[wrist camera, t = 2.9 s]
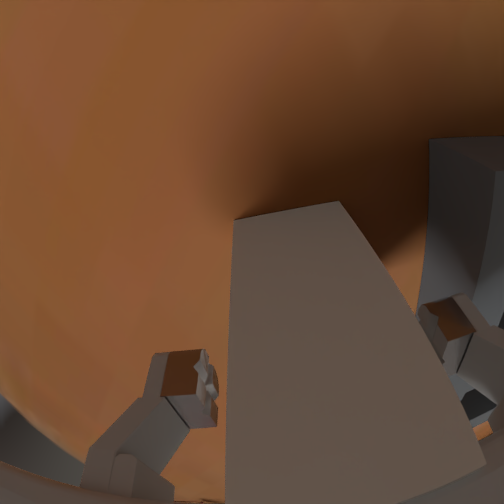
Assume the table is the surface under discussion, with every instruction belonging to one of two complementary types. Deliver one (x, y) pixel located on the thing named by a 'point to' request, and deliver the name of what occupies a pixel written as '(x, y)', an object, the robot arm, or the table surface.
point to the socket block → (466, 238)
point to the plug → (332, 373)
